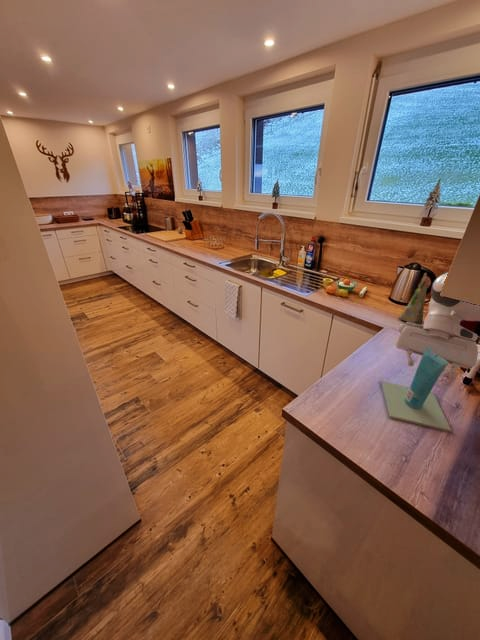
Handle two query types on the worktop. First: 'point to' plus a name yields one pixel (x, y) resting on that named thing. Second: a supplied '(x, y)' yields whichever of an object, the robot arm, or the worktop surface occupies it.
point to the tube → (425, 378)
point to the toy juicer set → (341, 287)
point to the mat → (423, 416)
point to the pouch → (416, 304)
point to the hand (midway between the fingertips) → (427, 371)
